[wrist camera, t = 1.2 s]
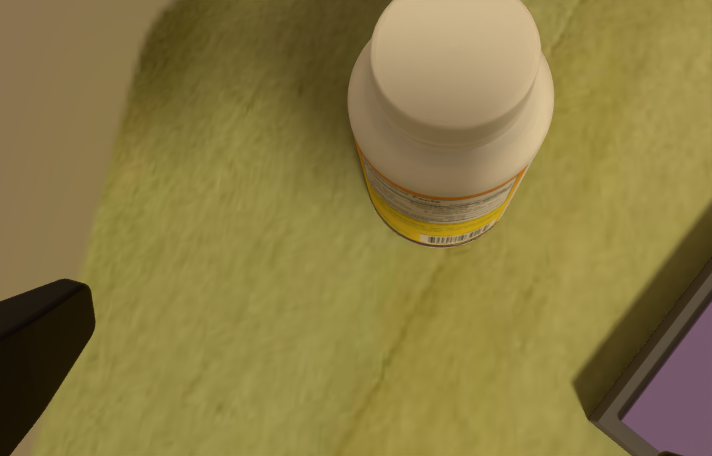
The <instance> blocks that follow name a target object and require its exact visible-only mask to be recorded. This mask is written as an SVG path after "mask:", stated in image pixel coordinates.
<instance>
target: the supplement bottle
mask: <svg viewBox="0 0 712 456" xmlns="http://www.w3.org/2000/svg"><path fill="white" fill-rule="evenodd" d="M553 106H554V87H553V81H552V75H551V72H550V68H549V66H548V63H547V61H546V59H545V57H544V54H543V53H542V51H541V45H540V37H539V33H538V29H537V27H536V24H535V22H534V20H533V17H532V16H531V14H530V13H529V11H528V10H527V8H526V7H525V6H524V4H523V3H522V2H521V1H520V0H392V1H391V3H390V4H389V5H388V6H387V7H386V8H385V9H384V11H383V13H382V14H381V16H380V17H379V19H378V22H377V23H376V25H375V28H374V31H373V34H372V38H371V39H370V40H369V42H368V43H367V44H366V46H365V47H364V48H363V50H362V51H361V53H360V55H359V57H358V59H357V61H356V63H355V65H354V68H353V70H352V73H351V77H350V82H349V87H348V113H349V119H350V124H351V129H352V132H353V136H354V139H355V143H356V147H357V151H358V154H359V158H360V161H361V165H362V169H363V172H364V176H365V179H366V183H367V187H368V190H369V195H370V198H371V201H372V203H373V205H374V207H375V209H376V211H377V213H378V215H379V216H380V218H381V219H382V220H383V222H384V223H385V224H386V225H387V226H388V227H389V228H390V229H391V230H392V231H393V232H395V233H396V234H397V235H399V236H400V237H402V238H404V239H405V240H408V241H410V242H412V243H415V244H417V245H421V246H424V247H430V248H451V247H456V246H460V245H464V244H467V243H469V242H472V241H474V240H475V239H477V238H479V237H481V236H482V235H484V234H485V233H486V232H488V231H489V230H490V229H491V228H492V227H493V226H494V225H495V224H496V223H497V222H498V221H499V219H500V218H501V217H502V215H503V213H504V212H505V210H506V208H507V206H508V205H509V203H510V201H511V199H512V197H513V196H514V194H515V192H516V190H517V188H518V186H519V185H520V183H521V181H522V179H523V177H524V175H525V174H526V172H527V170H528V168H529V166H530V164H531V162H532V161H533V159H534V157H535V155H536V153H537V152H538V150H539V148H540V146H541V144H542V143H543V140H544V138H545V136H546V134H547V132H548V129H549V126H550V123H551V119H552V114H553Z"/></svg>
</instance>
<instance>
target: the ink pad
mask: <svg viewBox="0 0 712 456" xmlns="http://www.w3.org/2000/svg"><path fill="white" fill-rule="evenodd" d="M588 420H589V421H590V422H591V423H593V424H594V425H595V426H596V427H597V428H599V429H600V430H601V431H602V432H604V433H605V434H606V435H607V436H608V437H610V438H611V439H612V440H613V441H615V442H616V443H617V444H618V445H619V446H621V447H622V448H623V449H624V450H626V451H627V452H628V453H629V454H630V455H632V456H657V455H658V454H659V453H661V452H662V451H669V452H672V453H676V454H679V455H683V456H712V257H711V259H710V260H709V261H708V263H707V264H706V265H705V267H704V268H703V269H702V271H701V272H700V273H699V274H698V276H697V277H696V278H695V280H694V281H693V282H692V284H691V285H690V286H689V288H688V289H687V290H686V291H685V293H684V294H683V295H682V297H681V298H680V299H679V301H678V302H677V303H676V305H675V306H674V307H673V308H672V310H671V311H670V312H669V314H668V315H667V316H666V318H665V319H664V320H663V322H662V323H661V324H660V325H659V327H658V328H657V329H656V331H655V332H654V333H653V335H652V336H651V337H650V339H649V340H648V341H647V343H646V344H645V345H644V346H643V348H642V349H641V350H640V352H639V353H638V354H637V356H636V357H635V358H634V360H633V361H632V362H631V363H630V365H629V366H628V367H627V369H626V370H625V371H624V373H623V374H622V375H621V377H620V378H619V379H618V380H617V382H616V383H615V384H614V386H613V387H612V388H611V390H610V391H609V392H608V394H607V395H606V396H605V397H604V399H603V400H602V401H601V403H600V404H599V405H598V407H597V408H596V409H595V411H594V412H593V413H592V414H591V416H590V417H589V418H588Z"/></svg>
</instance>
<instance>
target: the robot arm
mask: <svg viewBox="0 0 712 456" xmlns="http://www.w3.org/2000/svg"><path fill="white" fill-rule="evenodd" d="M94 329H95V314H94V307H93V301H92V294H91V289H90V288H89V286H88V285H86V284H84V283H81V282H77V281H74V280H70V279H60V280H57V281H55V282H52V283H49V284H46V285H44V286H41V287H38V288H35V289H33V290H30V291H27V292H25V293H22V294H19V295H16V296H14V297H11V298H8V299H6V300H3V301H0V456H10V455H11V453H12V452H13V451H14V449H15V448H16V447H17V445H18V444H19V443H20V442H21V441H22V439H23V438H24V437H25V435H26V434H27V433H28V432H29V430H30V429H31V428H32V427H33V425H34V424H35V423H36V421H37V420H38V419H39V417H40V416H41V415H42V413H43V412H44V410H45V409H46V407H47V406H48V404H49V403H50V401H51V400H52V398H53V397H54V395H55V393H56V392H57V390H58V389H59V387H60V385H61V384H62V382H63V381H64V379H65V378H66V376H67V374H68V373H69V371H70V370H71V368H72V366H73V365H74V363H75V362H76V360H77V359H78V357H79V355H80V354H81V352H82V351H83V349H84V348H85V346H86V344H87V343H88V341H89V340H90V338H91V336H92V334H93V332H94ZM657 456H683V455H679V454H676V453H672V452H669V451H662V452H661V453H659V454H658V455H657Z"/></svg>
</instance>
